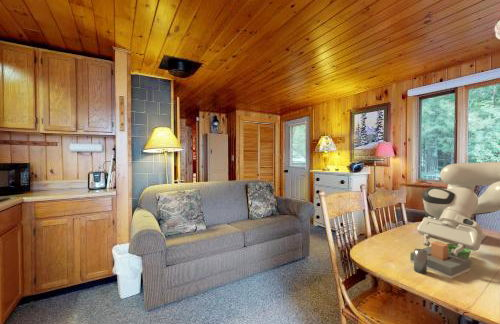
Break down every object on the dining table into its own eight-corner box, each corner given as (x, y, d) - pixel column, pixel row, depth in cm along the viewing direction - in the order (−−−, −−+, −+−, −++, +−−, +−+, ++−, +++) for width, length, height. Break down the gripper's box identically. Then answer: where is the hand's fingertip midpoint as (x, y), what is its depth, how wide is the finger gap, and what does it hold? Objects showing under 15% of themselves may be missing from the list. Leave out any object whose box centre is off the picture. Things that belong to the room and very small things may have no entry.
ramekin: (444, 251, 107) (445, 241, 107) (471, 257, 101) (472, 247, 100) (440, 257, 102) (440, 247, 101) (468, 264, 95) (469, 254, 95)
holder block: (429, 255, 103) (430, 246, 103) (470, 270, 90) (470, 259, 90) (410, 262, 97) (410, 252, 97) (450, 278, 84) (451, 268, 84)
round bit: (417, 267, 93) (418, 247, 92) (429, 272, 89) (429, 251, 89) (411, 270, 91) (412, 249, 91) (422, 274, 87) (423, 254, 87)
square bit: (436, 260, 96) (437, 241, 96) (447, 264, 93) (448, 244, 92) (430, 262, 95) (431, 243, 94) (442, 266, 91) (442, 246, 91)
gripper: (422, 211, 105) (408, 236, 101) (483, 224, 87) (468, 255, 83) (428, 219, 107) (414, 244, 104) (488, 234, 89) (474, 265, 85)
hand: (438, 249), depth 93 cm, fingers open, 8 cm apart
